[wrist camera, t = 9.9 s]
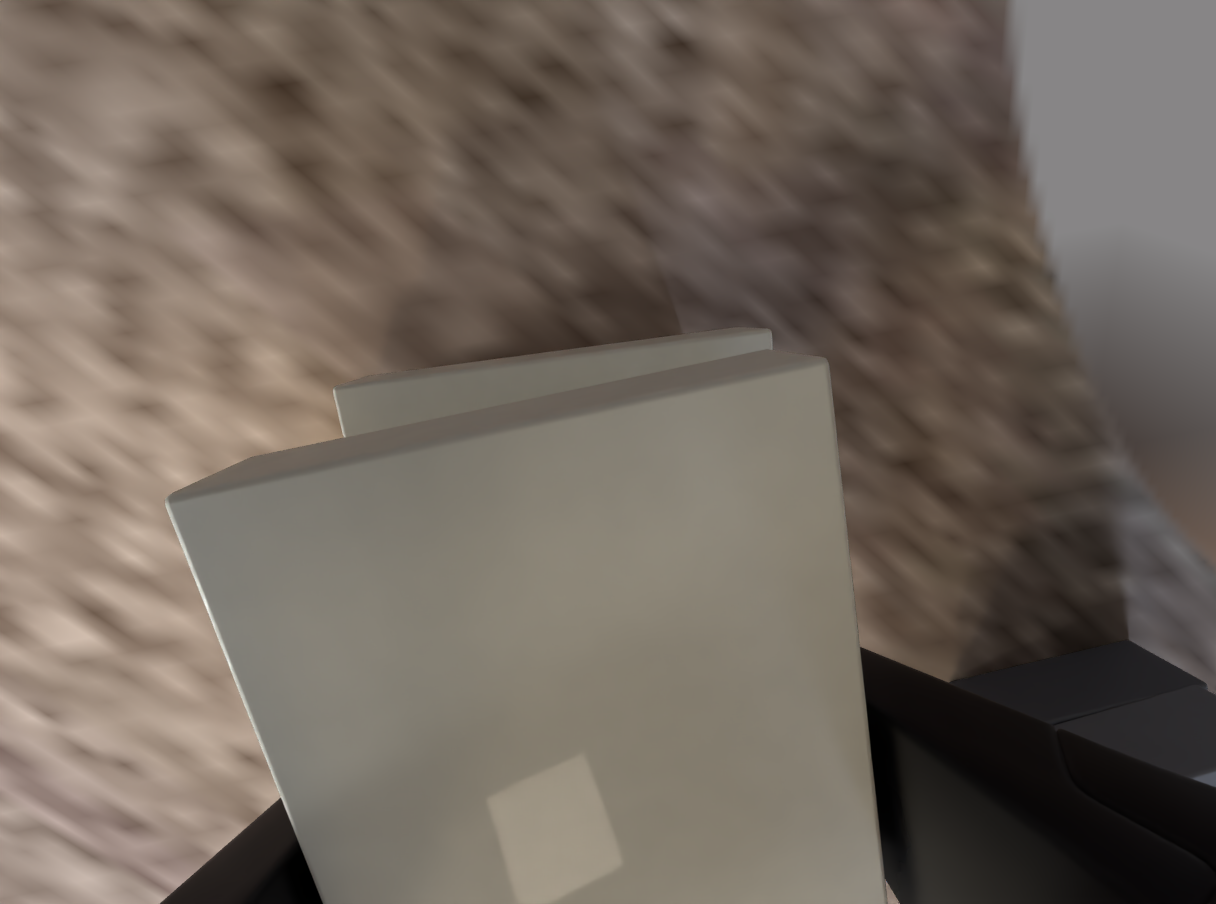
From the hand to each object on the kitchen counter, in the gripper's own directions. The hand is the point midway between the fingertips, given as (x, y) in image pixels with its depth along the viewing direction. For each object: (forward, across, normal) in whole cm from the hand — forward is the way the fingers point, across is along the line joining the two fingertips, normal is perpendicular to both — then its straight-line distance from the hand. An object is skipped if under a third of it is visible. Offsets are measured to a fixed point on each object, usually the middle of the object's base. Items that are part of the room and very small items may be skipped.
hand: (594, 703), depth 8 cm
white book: (-1, 0, 0) cm, 1 cm away
